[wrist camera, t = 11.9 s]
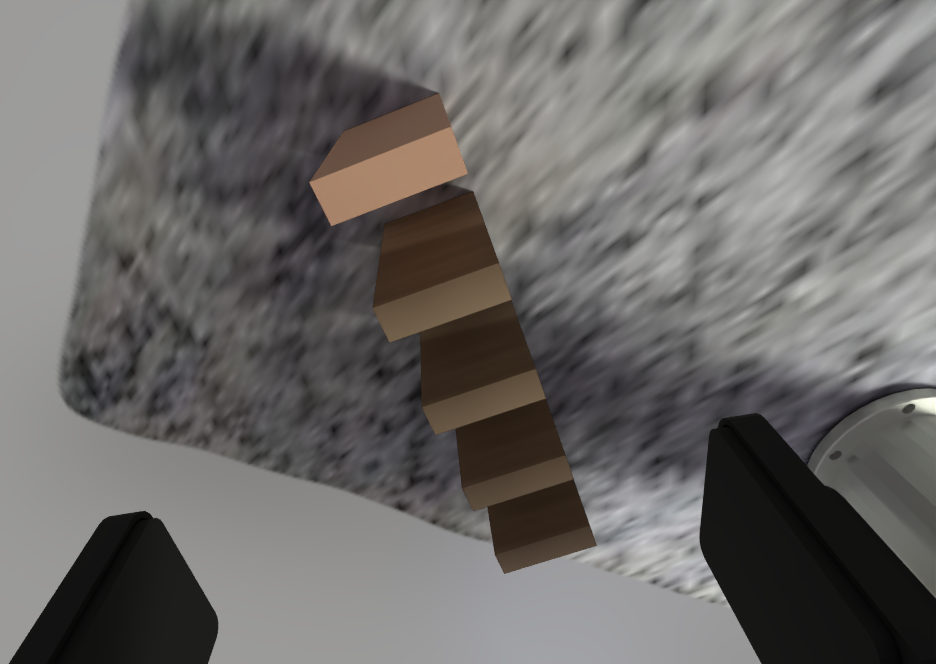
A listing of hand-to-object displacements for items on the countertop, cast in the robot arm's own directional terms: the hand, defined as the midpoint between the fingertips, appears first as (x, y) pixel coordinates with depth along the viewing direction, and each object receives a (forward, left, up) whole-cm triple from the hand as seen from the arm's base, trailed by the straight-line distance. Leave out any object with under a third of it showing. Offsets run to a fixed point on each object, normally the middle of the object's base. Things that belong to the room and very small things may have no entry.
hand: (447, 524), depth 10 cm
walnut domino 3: (-12, -1, -22) cm, 25 cm away
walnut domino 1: (-2, 0, -22) cm, 22 cm away
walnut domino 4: (-17, -1, -22) cm, 28 cm away
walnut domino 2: (-7, 0, -22) cm, 23 cm away
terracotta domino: (+3, 0, -22) cm, 22 cm away
